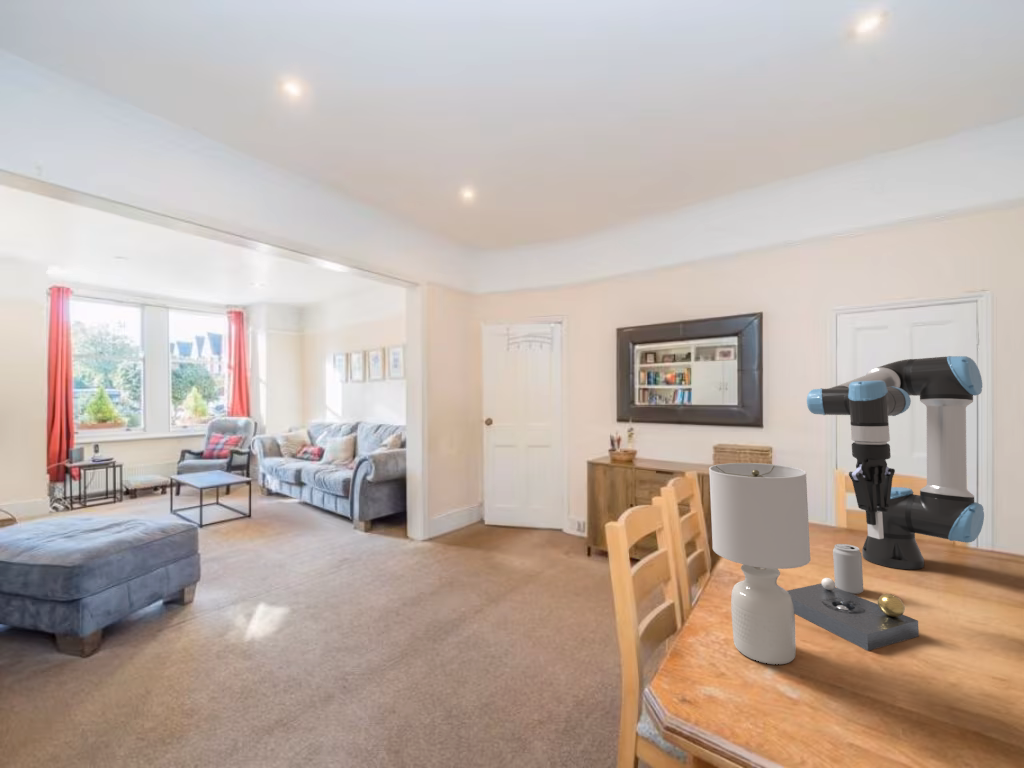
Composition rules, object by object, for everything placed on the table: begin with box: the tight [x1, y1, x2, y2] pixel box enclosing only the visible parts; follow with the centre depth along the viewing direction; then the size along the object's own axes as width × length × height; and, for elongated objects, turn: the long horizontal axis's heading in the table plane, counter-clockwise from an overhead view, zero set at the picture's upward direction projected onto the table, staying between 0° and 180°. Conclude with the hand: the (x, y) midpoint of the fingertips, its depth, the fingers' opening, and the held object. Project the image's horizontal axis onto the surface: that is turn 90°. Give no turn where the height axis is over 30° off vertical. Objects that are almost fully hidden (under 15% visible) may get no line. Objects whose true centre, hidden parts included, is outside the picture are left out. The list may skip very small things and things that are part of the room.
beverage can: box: [832, 543, 864, 595], centre depth 125 cm, size 6×6×12 cm
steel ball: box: [836, 605, 849, 610], centre depth 110 cm, size 4×4×4 cm
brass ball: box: [877, 593, 906, 617], centre depth 104 cm, size 5×5×5 cm
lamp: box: [708, 462, 811, 666], centre depth 99 cm, size 19×19×39 cm
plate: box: [786, 583, 920, 652], centre depth 110 cm, size 16×22×4 cm
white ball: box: [820, 577, 836, 590], centre depth 118 cm, size 3×3×3 cm
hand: (875, 537), depth 112 cm, fingers closed
